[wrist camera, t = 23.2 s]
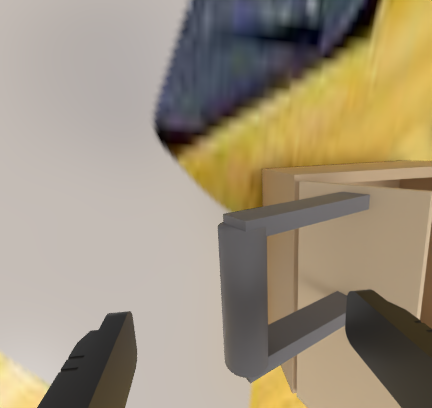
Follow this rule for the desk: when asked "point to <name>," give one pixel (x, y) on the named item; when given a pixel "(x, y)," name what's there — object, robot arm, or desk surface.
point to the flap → (322, 284)
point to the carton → (289, 241)
